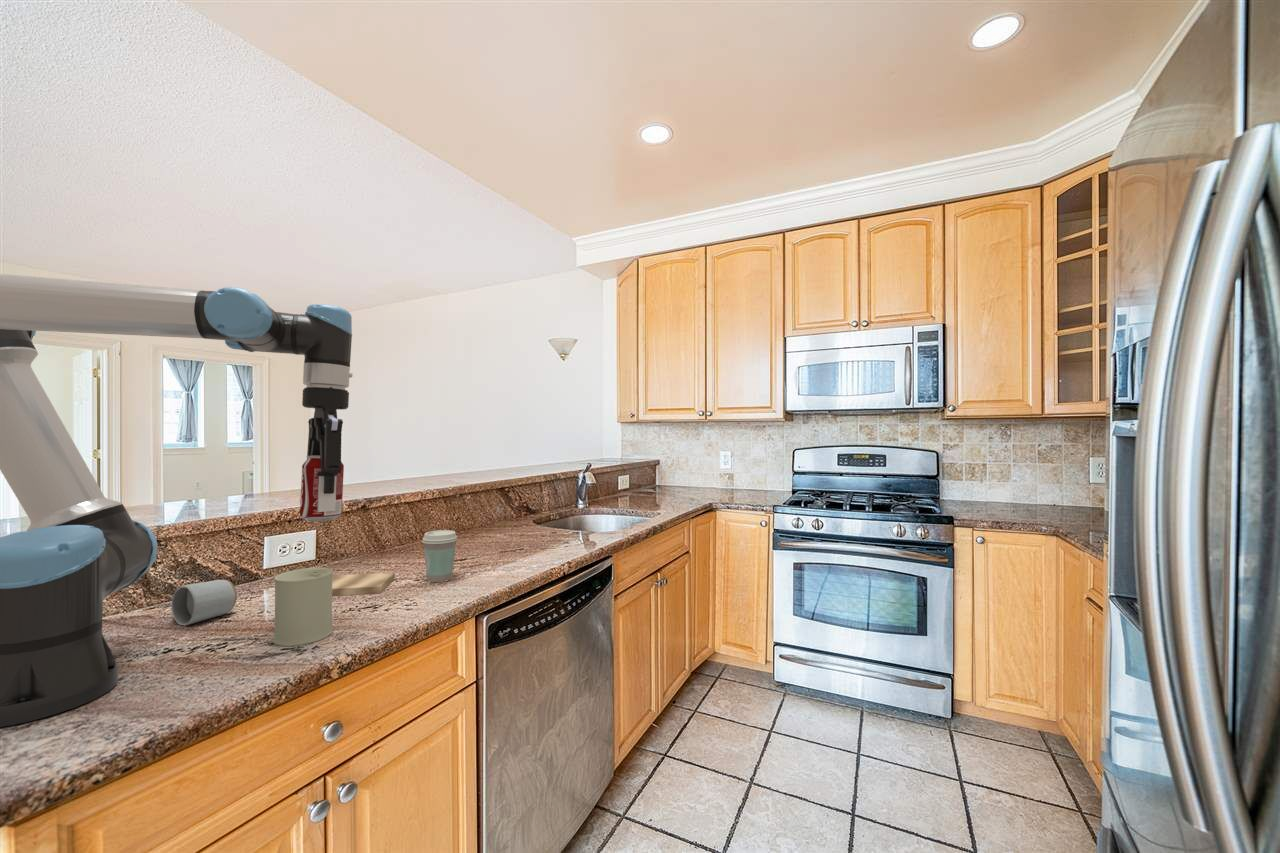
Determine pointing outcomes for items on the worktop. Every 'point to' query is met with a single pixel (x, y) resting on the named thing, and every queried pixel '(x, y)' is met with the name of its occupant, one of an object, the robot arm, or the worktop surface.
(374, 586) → the cutting board
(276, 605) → the can
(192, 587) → the grey hollow cylinder
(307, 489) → the soda can
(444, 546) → the coffee cup
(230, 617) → the worktop surface
